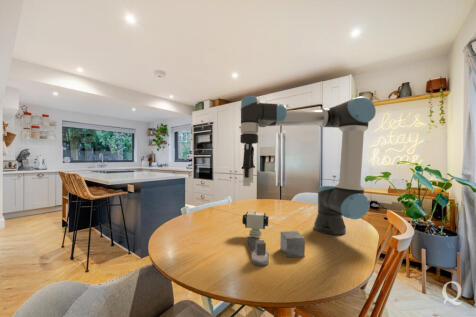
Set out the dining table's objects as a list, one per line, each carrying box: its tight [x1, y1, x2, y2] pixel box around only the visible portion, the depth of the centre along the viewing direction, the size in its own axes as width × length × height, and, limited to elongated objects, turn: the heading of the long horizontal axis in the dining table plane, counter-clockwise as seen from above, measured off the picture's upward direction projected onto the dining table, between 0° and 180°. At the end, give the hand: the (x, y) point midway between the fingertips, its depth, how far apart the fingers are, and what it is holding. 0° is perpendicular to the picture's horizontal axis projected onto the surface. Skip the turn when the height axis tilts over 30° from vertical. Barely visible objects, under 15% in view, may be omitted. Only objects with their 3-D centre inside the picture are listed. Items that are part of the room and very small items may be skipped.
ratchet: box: [247, 236, 270, 268], centre depth 77 cm, size 6×20×7 cm, turn 7°
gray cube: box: [279, 231, 306, 258], centre depth 78 cm, size 7×7×7 cm
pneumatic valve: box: [241, 210, 269, 239], centre depth 93 cm, size 6×12×12 cm, turn 78°
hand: (248, 184), depth 85 cm, fingers open, 13 cm apart
